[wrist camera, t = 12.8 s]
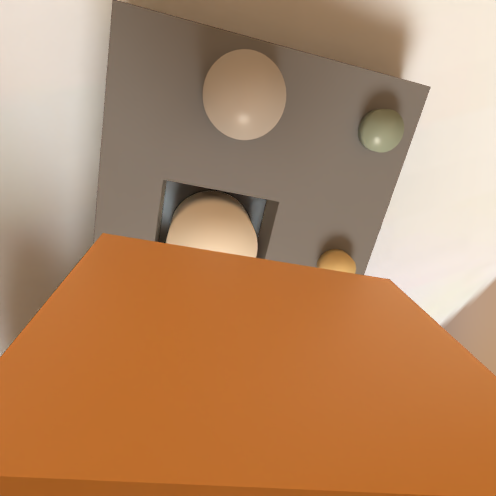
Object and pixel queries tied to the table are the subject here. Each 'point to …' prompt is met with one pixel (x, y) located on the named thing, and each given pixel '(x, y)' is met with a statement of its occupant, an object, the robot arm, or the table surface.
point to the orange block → (238, 384)
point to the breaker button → (213, 225)
